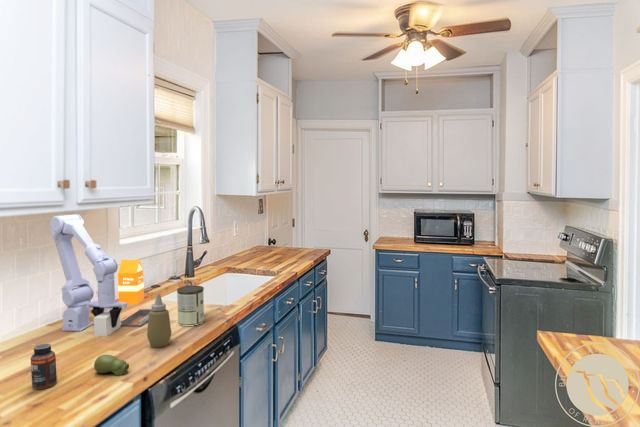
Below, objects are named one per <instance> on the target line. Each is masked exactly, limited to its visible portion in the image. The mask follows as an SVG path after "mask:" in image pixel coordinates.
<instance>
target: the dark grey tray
mask: <svg viewBox="0 0 640 427" xmlns="http://www.w3.org/2000/svg"><path fill="white" fill-rule="evenodd" d="M150 311H152V308H138V309H136V310H134V311H132V313H130V314H129V315H127V316H125V317H124V318H123V319H120V327H133V328H137V327H140V328H141V327H143V326H144V325H145V324H147V323H148V317H149V312H150Z"/></svg>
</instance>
